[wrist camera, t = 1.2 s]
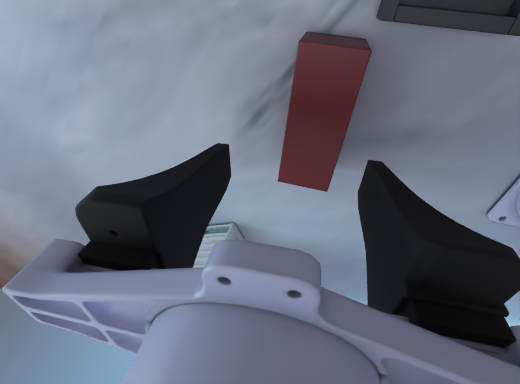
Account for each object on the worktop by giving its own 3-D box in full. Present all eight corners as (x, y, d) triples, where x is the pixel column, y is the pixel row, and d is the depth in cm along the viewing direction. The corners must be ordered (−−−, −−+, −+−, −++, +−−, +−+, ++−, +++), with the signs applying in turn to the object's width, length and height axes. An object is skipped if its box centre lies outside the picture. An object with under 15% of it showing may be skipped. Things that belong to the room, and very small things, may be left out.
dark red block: (366, 38, 17) (371, 50, 14) (329, 165, 23) (327, 192, 20) (306, 31, 18) (299, 40, 15) (285, 156, 24) (277, 181, 21)
